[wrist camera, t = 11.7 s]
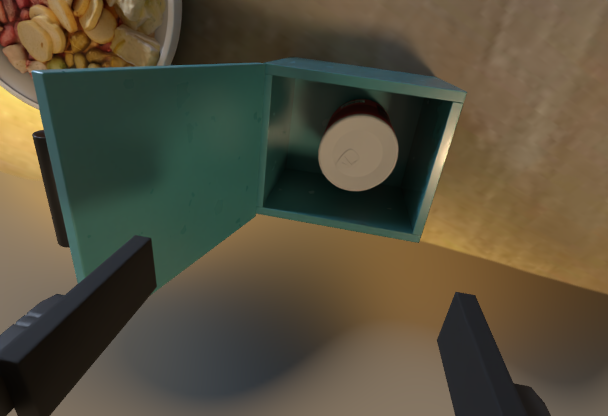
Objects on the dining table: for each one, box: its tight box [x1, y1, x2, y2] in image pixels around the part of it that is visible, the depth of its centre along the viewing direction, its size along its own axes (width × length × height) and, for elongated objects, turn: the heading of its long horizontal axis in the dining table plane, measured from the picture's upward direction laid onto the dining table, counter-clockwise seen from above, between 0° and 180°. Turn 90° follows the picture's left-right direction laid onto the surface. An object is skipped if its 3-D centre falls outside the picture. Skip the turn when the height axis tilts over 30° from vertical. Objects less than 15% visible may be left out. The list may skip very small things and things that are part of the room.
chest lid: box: [31, 63, 265, 294], centre depth 26 cm, size 18×15×5 cm
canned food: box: [318, 99, 398, 191], centre depth 39 cm, size 8×8×11 cm
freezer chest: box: [256, 57, 467, 243], centre depth 38 cm, size 17×15×14 cm
